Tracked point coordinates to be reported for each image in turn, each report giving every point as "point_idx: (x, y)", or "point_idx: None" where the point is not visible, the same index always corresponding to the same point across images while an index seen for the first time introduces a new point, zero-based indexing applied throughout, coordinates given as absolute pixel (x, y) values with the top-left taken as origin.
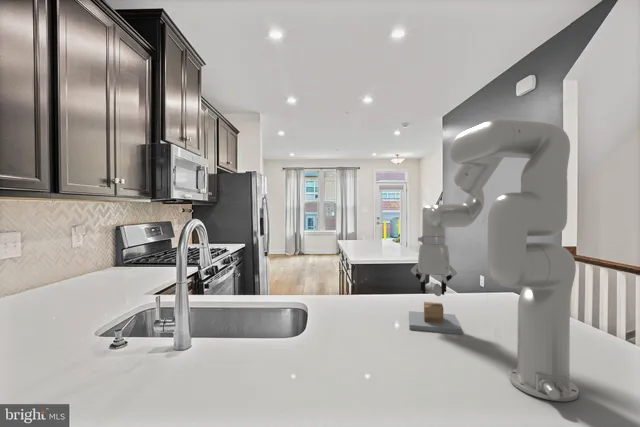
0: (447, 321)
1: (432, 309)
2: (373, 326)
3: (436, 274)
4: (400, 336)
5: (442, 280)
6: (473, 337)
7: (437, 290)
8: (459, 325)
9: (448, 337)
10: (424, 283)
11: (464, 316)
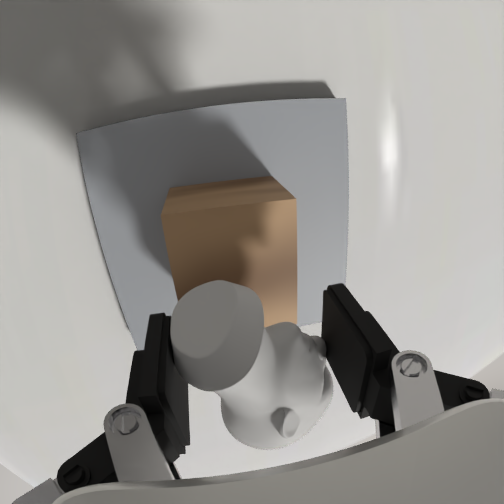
0: (152, 233)
1: (238, 200)
2: (461, 105)
3: (254, 475)
4: (361, 3)
5: (171, 448)
6: (40, 112)
7: (212, 309)
8: (89, 192)
9: (144, 52)
10: (371, 343)
11: (112, 375)
